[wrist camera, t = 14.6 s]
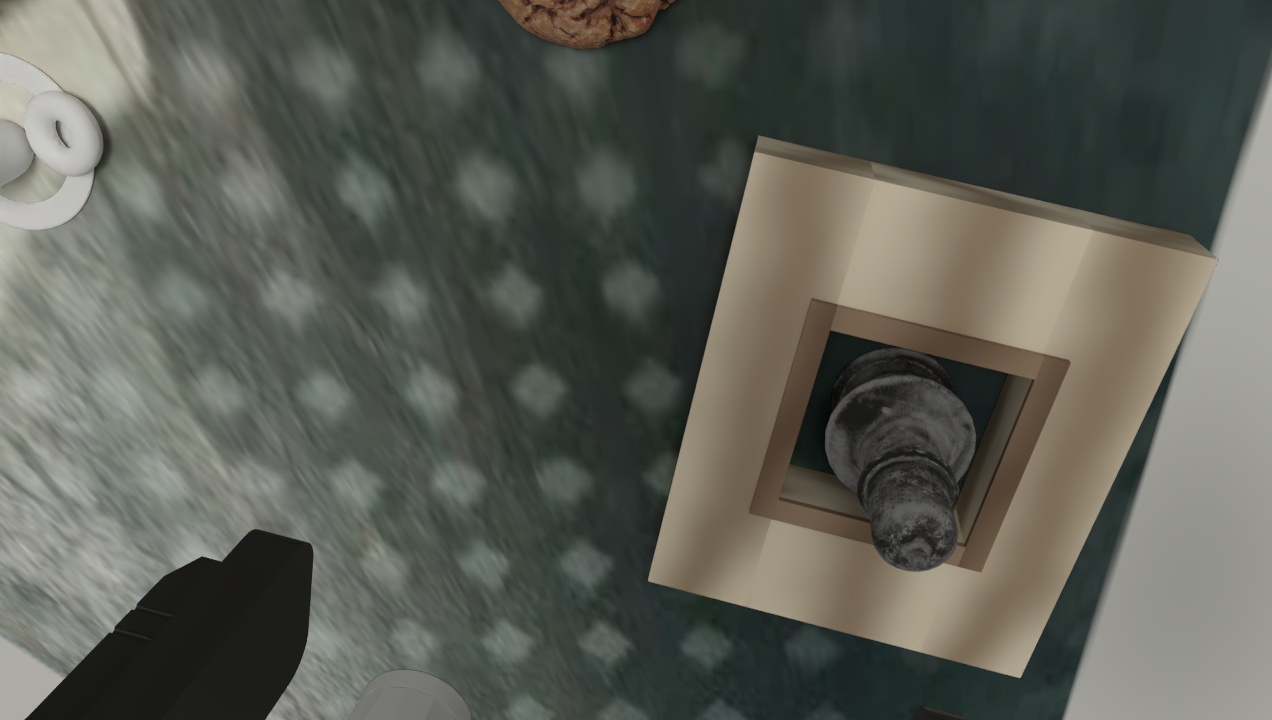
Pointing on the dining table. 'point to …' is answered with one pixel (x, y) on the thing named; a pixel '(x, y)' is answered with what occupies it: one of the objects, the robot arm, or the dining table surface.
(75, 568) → the dining table surface
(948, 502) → the dark grey tall piece
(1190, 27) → the dining table surface
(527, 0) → the cookie
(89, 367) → the dining table surface
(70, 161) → the teacup and saucer
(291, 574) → the robot arm
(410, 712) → the cup
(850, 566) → the birch frame
